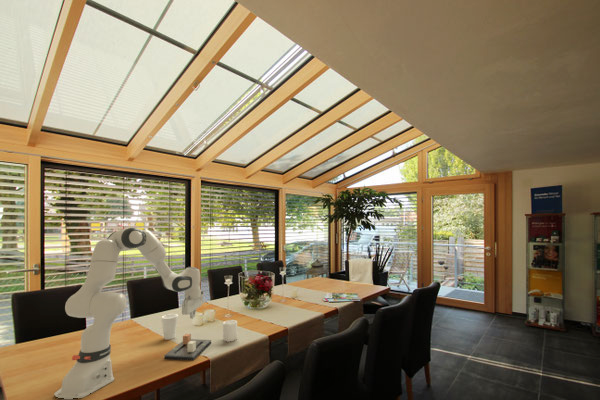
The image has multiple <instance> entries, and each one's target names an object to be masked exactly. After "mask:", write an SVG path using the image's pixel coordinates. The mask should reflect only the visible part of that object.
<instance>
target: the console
mask: <svg viewBox="0 0 600 400" xmlns="http://www.w3.org/2000/svg"><path fill="white" fill-rule="evenodd" d="M191 341H196V350H195V351H194V352H192V353H190V352H187V345H188V344H187V345H186V344H183V340H182V341H181V342H180V343H179V344H177V345H176V346H174V347H173V348H172V349H170V351H167V352H166V353H165V354H164V355H163V358H164V360H172V361H173V360H174V361H175V360H176V361H177V360H178V361H195V360H196V359H197V358H199V356H200V355H201V354H202V353H203V352H204V351H205V350H206V349H207V348H208V347H209V346H210V345H211V344H212V339H192V338H191Z"/></svg>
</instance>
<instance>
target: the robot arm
mask: <svg viewBox="0 0 600 400" xmlns="http://www.w3.org/2000/svg"><path fill="white" fill-rule="evenodd" d="M133 249H137V250H138V251H139V252H140V254H141V255H142V256H143V258H144V259H146V260H147V262H149V263H150V264H151V265H152V266H153V267H154V269H155V271H156V272H157V273H158V275H159V276H160V278H161V282H162V286H163V287H164V288H165V289H167V290H170V291H173V292H176V293H177V292H178V293H180V292H184V300H183V301H182V304H181V314H182V316H183V315H185V316H187V315H188V316H189V318H190V319H194V318H195V317H196V313H197V309H198V308H200V307H202V306H203V303H204V290H202V289H201V286H200V284H201V272H200V269H199V268H197V267H193V266H188V267H186V268H185V269H184V270H183V271H181V272H179V273H176V272H174V271H172V270H171V268H170V267H169V265H168V264H167V262H166V260H165V258H166V255H167V251H166V249H165V246H164V245H163V243H162V242H161V240H159V238H158V237H157V236H156V235H155V234H154V233H153V232H152V231H150V230H148V229H144V230H141V229H139V228H137V227H128V228H123V229H119V230H116V231H114V232H112V233H110V235H108V237H107V238H106V239H105V238H104V239H101V240H99V241H98V242H96V244H95V247H94V249H93V251H92V254H91V258H90V263H89V266H88V268H89V269H88V272H87V275H86V279H85V281H84V283H83V284H82V286H81V287H80V289H79V290H78V291H76V292H75V293H74V294H72V295H71V296H69V298H67V300H66V302H65V306H64V310H65V311H64V312H65V313H66V315H67V316H69V317H72V318H78V319H83V318H93V323H92V324H90V325H89V326H88V327H86V328H85V329H84V330H83V331H82V332H81V335H80V350H79V352H78V354H74V355H72V357H71V360H72V361H76V362H75V364H74V365H73V366H72V367H71V369H70V370H69V371H68V372H67V373H66V375H65V376H64V377H63V379H62V382H61V387H60V388H59V389H58V390H57V391H55V392H54V393H53V396H54V395H55V396H56V397H58V398H64V399H63V400H74V399H73V398H78V399H83V398H86V397H87V396H89V395H90V393H91V394H92V393H94V392H96V391H98V390H99V389H101V388H103V387H105V386H107V385H108V384H111V383H112V382H114V380H115V377H114V374H113V367H112V366H113V365H112V359H111V351H112V348H111V343H110V342H111V341H110V340H111V331H112V327H113V324H114V322H115V320H116V319H117V318H118V317H119V316H121V314H123V313H124V312H125V310H126V308H127V306H128V299H127V297H126V295H125V293H121V292H114V291H107V292H106V291H104V292H102V290H103V289H104V287H105V286H106V285H108V284H110V283H112V282H113V281H114V280H115V278H116V274H117V269H118V268H117V267H118V260H119V255H120V253H121V252H123V251H129V250H133ZM58 398H57V399H58Z"/></svg>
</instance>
